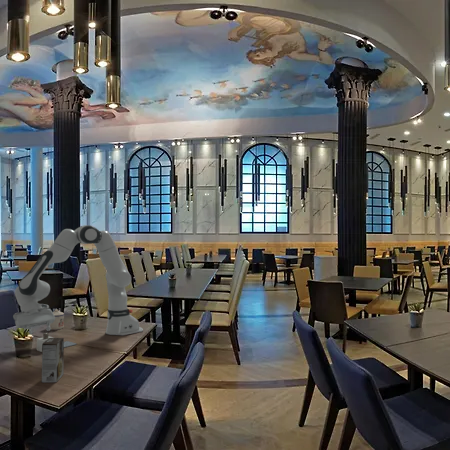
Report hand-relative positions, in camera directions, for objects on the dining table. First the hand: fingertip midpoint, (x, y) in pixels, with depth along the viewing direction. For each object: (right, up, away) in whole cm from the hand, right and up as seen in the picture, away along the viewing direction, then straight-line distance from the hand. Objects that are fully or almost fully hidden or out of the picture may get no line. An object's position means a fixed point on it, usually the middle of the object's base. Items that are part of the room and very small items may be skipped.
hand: (40, 331), depth 216 cm
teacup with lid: (-10, -9, +45) cm, 47 cm away
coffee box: (+25, -9, -43) cm, 51 cm away
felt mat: (+10, -9, +6) cm, 15 cm away
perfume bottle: (+4, -9, -3) cm, 10 cm away
